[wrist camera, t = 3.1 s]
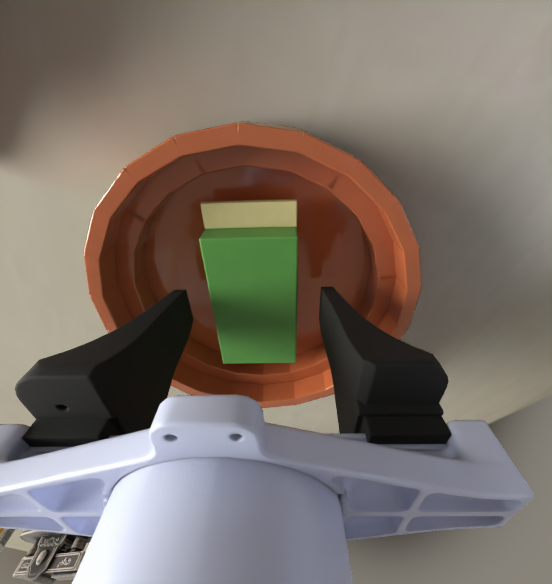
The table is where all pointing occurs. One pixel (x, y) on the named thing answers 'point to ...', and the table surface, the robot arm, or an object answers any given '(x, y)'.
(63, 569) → the lighter
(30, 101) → the table surface
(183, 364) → the bowl
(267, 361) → the eraser with green sleeve
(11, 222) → the table surface
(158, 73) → the table surface
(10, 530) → the beer can
